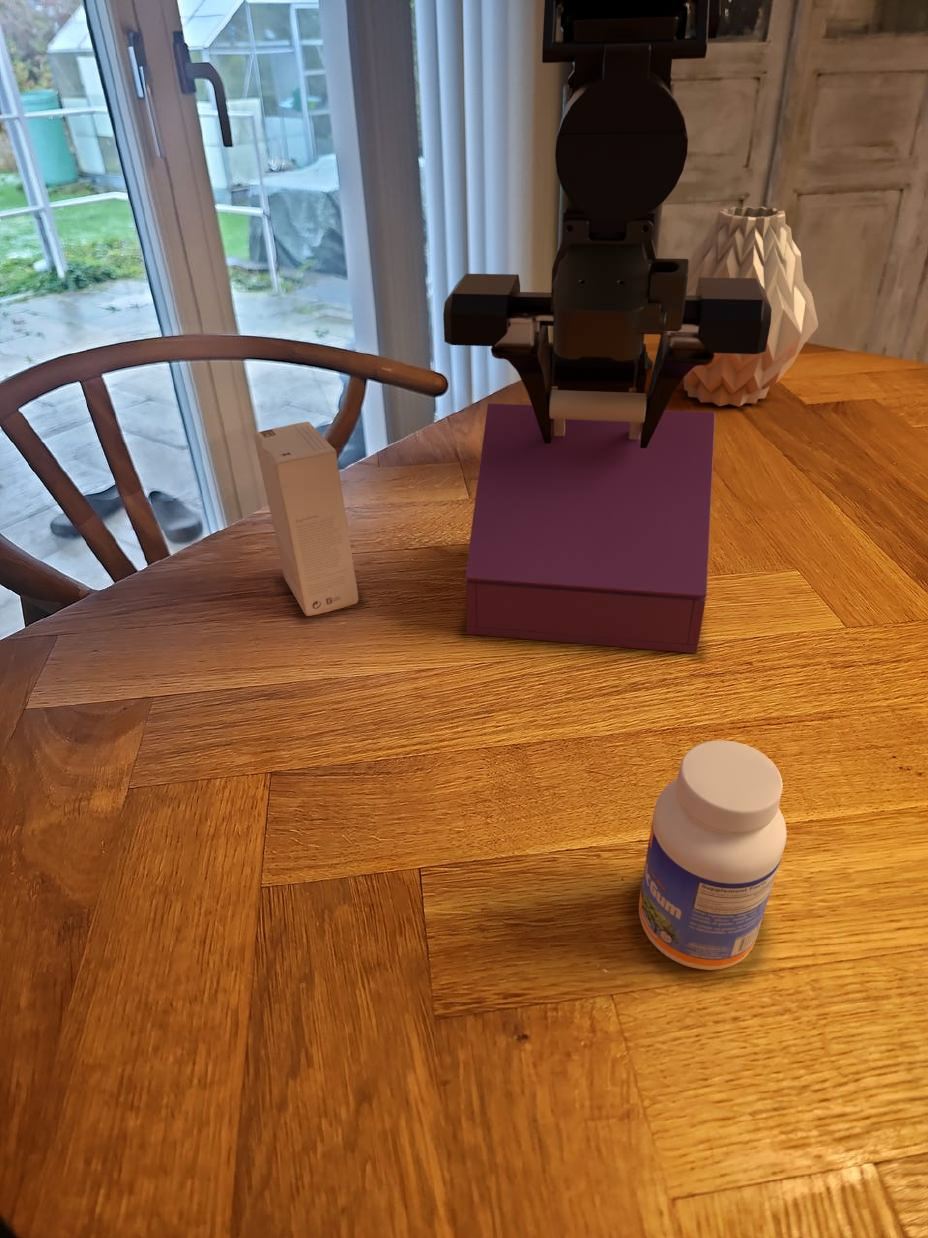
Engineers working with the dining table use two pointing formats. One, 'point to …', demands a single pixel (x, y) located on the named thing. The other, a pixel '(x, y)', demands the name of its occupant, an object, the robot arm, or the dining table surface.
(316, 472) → the cosmetic box
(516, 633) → the case
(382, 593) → the dining table surface
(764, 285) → the vase
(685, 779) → the pill bottle
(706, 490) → the case cover
